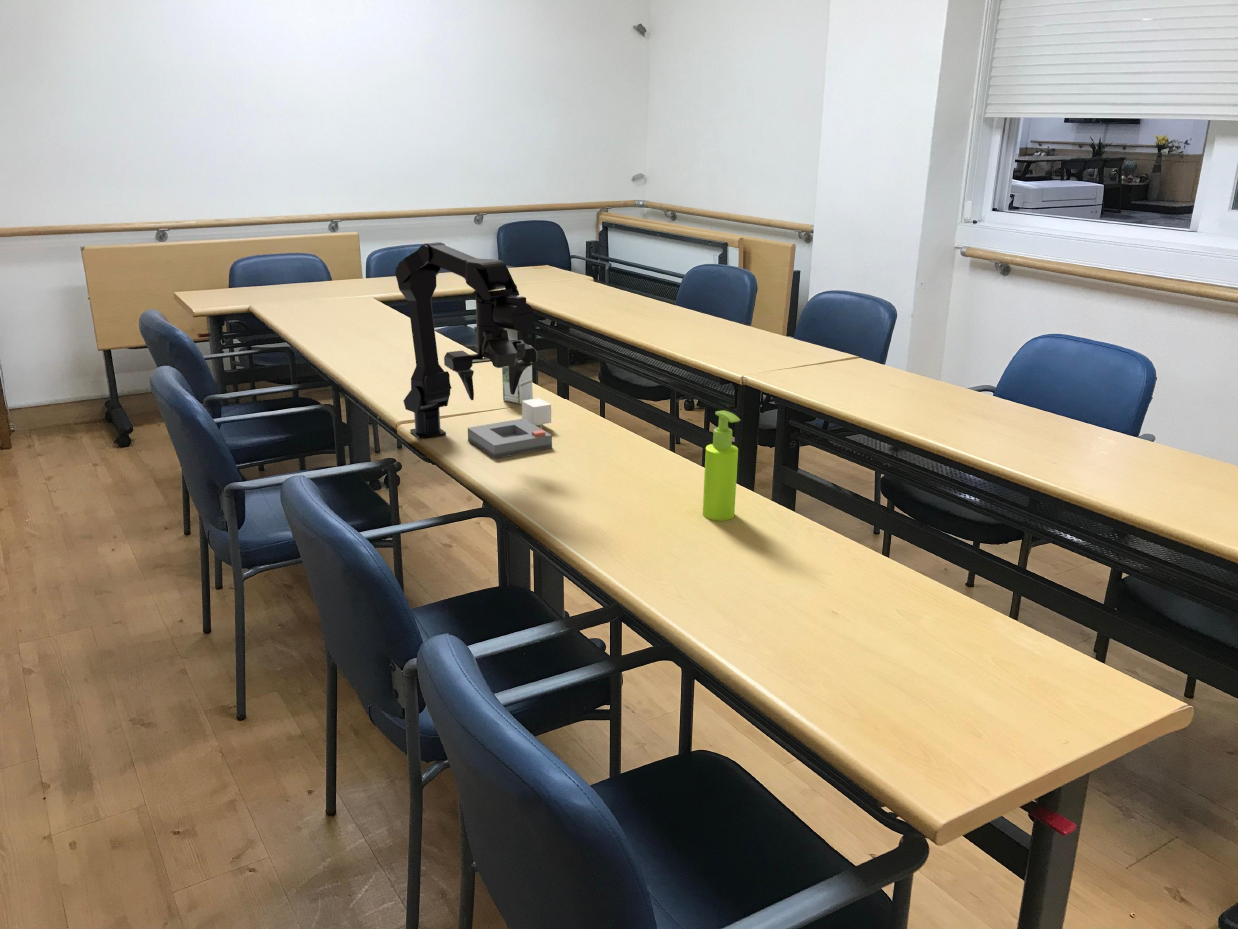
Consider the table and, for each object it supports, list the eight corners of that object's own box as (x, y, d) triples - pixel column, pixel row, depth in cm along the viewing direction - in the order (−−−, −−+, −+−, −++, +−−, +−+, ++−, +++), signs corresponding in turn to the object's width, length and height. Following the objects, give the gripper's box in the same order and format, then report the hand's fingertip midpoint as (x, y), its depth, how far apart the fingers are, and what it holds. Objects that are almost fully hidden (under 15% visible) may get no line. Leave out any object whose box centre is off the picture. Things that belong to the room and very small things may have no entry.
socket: (468, 440, 215) (467, 424, 214) (523, 430, 222) (523, 415, 221) (494, 458, 204) (494, 442, 203) (552, 447, 211) (551, 432, 210)
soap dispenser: (716, 525, 173) (722, 420, 166) (696, 511, 179) (701, 409, 172) (743, 519, 176) (750, 415, 169) (722, 506, 181) (728, 405, 174)
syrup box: (533, 399, 247) (532, 344, 242) (519, 405, 242) (518, 349, 237) (516, 396, 249) (515, 341, 244) (502, 401, 245) (500, 346, 240)
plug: (522, 425, 226) (521, 400, 224) (539, 422, 229) (539, 398, 227) (533, 431, 222) (533, 407, 220) (551, 428, 224) (551, 404, 222)
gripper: (462, 336, 183) (465, 413, 189) (549, 327, 192) (549, 401, 198) (441, 324, 192) (444, 398, 197) (525, 316, 201) (526, 387, 206)
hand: (492, 397), depth 200 cm, fingers open, 9 cm apart
